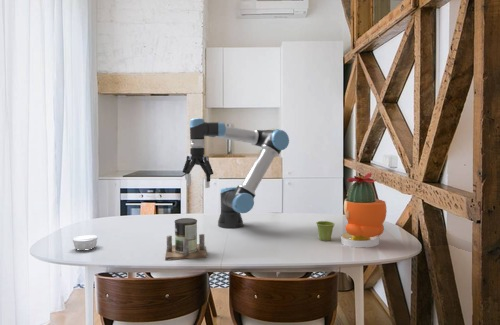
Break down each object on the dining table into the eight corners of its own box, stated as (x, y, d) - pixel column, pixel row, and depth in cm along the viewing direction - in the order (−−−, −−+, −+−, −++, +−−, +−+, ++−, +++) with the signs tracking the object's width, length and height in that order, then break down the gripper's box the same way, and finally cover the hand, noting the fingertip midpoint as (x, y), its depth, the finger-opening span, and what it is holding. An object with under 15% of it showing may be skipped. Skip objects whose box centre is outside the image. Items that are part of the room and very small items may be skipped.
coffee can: (173, 253, 177) (173, 223, 175) (176, 247, 187) (175, 218, 186) (196, 253, 177) (196, 222, 176) (197, 246, 188) (197, 217, 187)
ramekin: (82, 253, 182) (82, 242, 182) (68, 249, 188) (67, 238, 188) (102, 247, 192) (102, 236, 191) (88, 243, 198) (88, 233, 197)
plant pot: (335, 237, 207) (335, 221, 206) (333, 242, 198) (333, 225, 198) (317, 236, 210) (317, 220, 210) (314, 241, 201) (314, 224, 201)
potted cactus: (333, 242, 199) (334, 174, 196) (360, 235, 213) (361, 171, 210) (368, 252, 182) (370, 177, 179) (396, 244, 195) (398, 174, 193)
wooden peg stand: (204, 246, 193) (204, 229, 192) (206, 257, 175) (206, 239, 174) (166, 248, 190) (166, 231, 189) (165, 259, 172) (164, 241, 171)
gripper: (175, 147, 213) (176, 185, 215) (210, 148, 199) (210, 189, 201) (185, 146, 219) (186, 184, 221) (219, 147, 205) (220, 187, 207)
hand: (197, 186), depth 211 cm, fingers open, 13 cm apart
